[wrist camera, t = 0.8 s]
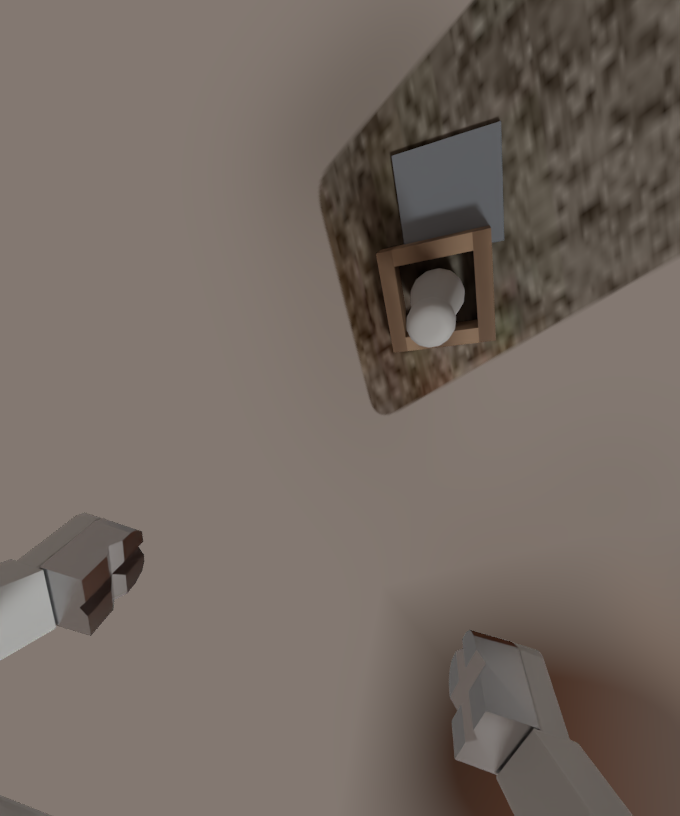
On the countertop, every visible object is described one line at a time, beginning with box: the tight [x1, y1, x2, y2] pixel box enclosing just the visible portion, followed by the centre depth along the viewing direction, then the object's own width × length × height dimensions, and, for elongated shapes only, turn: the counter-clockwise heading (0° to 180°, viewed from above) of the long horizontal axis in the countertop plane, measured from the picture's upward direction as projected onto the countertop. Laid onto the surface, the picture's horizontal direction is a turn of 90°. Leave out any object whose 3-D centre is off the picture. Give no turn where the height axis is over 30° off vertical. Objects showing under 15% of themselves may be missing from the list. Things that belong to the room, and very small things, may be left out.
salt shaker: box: [406, 268, 465, 348], centre depth 36 cm, size 6×6×13 cm
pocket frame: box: [376, 225, 496, 353], centre depth 40 cm, size 11×11×3 cm
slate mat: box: [392, 121, 504, 245], centre depth 37 cm, size 10×10×1 cm
